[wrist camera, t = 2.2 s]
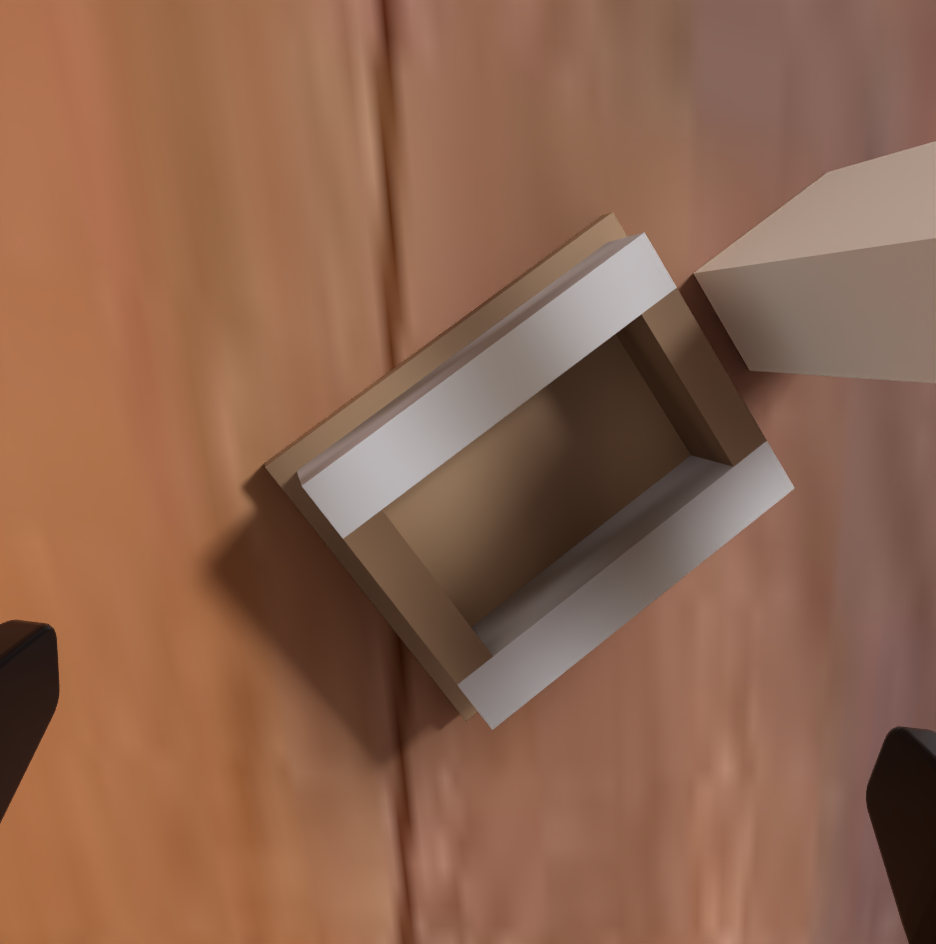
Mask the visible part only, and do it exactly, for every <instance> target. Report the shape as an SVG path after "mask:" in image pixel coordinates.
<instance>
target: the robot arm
mask: <svg viewBox="0 0 936 944" xmlns="http://www.w3.org/2000/svg"><path fill="white" fill-rule="evenodd" d="M58 699H59V670H58V652H57V637H56V633H55V630H54V628H52V627H51V626H50V625H49V624H46V623H38V622H30V621H22V620H10V621H7V622H5V623H2V624H0V823H1V821H2V819H3V817H4V815H5V813H6V811H7V809H8V807H9V804H10V802H11V800H12V798H13V796H14V794H15V792H16V790H17V788H18V786H19V784H20V782H21V780H22V778H23V776H24V774H25V772H26V770H27V768H28V766H29V764H30V762H31V760H32V758H33V755H34V753H35V751H36V749H37V747H38V745H39V743H40V741H41V739H42V737H43V735H44V733H45V731H46V729H47V727H48V725H49V723H50V721H51V719H52V717H53V715H54V712H55V710H56V707H57V703H58ZM866 803H867V809H868V813H869V816H870V819H871V823H872V826H873V829H874V833H875V836H876V839H877V842H878V846H879V849H880V852H881V856H882V859H883V862H884V866H885V869H886V872H887V875H888V879H889V882H890V885H891V889H892V892H893V895H894V898H895V902H896V905H897V908H898V912H899V915H900V918H901V922H902V925H903V927H904V930H905V933H906V936H907V939H908V942H909V944H936V732H934V731H931V730H926V729H918V728H909V727H900V726H899V727H895V728H893V729H891V730H890V731H889V732H888V734H887V735H886V737H885V740H884V742H883V745H882V748H881V750H880V753H879V755H878V758H877V761H876V763H875V766H874V769H873V771H872V774H871V777H870V779H869V782H868V785H867V791H866Z"/></svg>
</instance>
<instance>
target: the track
mask: <svg viewBox="0 0 936 944" xmlns="http://www.w3.org/2000/svg"><path fill="white" fill-rule="evenodd" d="M264 464H265V468H266V469H267V470H268V472H269V473H270V474H271V475H272V477H273V478H274V479H275V481H276V482H277V483H278V484H279V486H280V487H281V488H282V489H283V491H284V492H285V493H286V494H287V496H288V497H289V498H290V500H291V501H292V502H293V503H294V505H295V506H296V507H297V508H298V510H299V511H300V512H301V513H302V515H303V516H304V517H305V518H306V520H307V521H308V522H309V524H310V525H311V526H312V527H313V529H314V530H315V531H316V532H317V534H318V535H319V536H320V537H321V539H322V540H323V541H324V542H325V544H326V545H327V546H328V548H329V549H330V550H331V551H332V553H333V554H334V555H335V556H336V558H337V559H338V560H339V561H340V563H341V564H342V565H343V567H344V568H345V569H346V570H347V572H348V573H349V574H350V575H351V577H352V578H353V579H354V580H355V582H356V583H357V584H358V585H359V587H360V588H361V589H362V591H363V592H364V593H365V594H366V596H367V597H368V598H369V599H370V601H371V602H372V603H373V604H374V606H375V607H376V608H377V609H378V611H379V612H380V613H381V615H382V616H383V617H384V618H385V620H386V621H387V622H388V623H389V625H390V626H391V627H392V628H393V630H394V631H395V632H396V634H397V635H398V636H399V637H400V639H401V640H402V641H403V642H404V644H405V645H406V646H407V647H408V649H409V650H410V651H411V652H412V654H413V655H414V656H415V658H416V659H417V660H418V661H419V663H420V664H421V665H422V666H423V668H424V669H425V670H426V671H427V673H428V674H429V675H430V676H431V678H432V679H433V680H434V682H435V683H436V684H437V685H438V687H439V688H440V689H441V690H442V692H443V693H444V694H445V695H446V697H447V698H448V699H449V701H450V702H451V703H452V704H453V706H454V707H455V708H456V709H457V711H458V712H459V713H460V714H461V716H462V717H463V718H464V719H465V721H467V720H468V719H469V718H471V717H472V716H473V715H474V714H476V713H477V712H479V713H480V715H481V716H482V717H483V719H484V720H485V721H486V722H487V724H488V725H489V726H490V727H491V729H492V730H493V729H494V728H495V727H497V726H498V725H499V724H500V723H502V722H503V721H504V720H505V719H507V718H508V717H509V716H510V715H512V714H513V713H514V712H515V711H517V710H518V709H519V708H520V707H522V706H523V705H524V704H525V703H527V702H528V701H529V700H530V699H532V698H533V697H534V696H535V695H537V694H538V693H539V692H540V691H542V690H543V689H544V688H545V687H547V686H548V685H549V684H550V683H552V682H553V681H554V680H555V679H557V678H558V677H559V676H560V675H562V674H563V673H564V672H565V671H567V670H568V669H569V668H570V667H572V666H573V665H574V664H575V663H577V662H578V661H579V660H580V659H582V658H583V657H584V656H585V655H587V654H588V653H589V652H590V651H592V650H593V649H594V648H595V647H597V646H598V645H599V644H600V643H602V642H603V641H604V640H605V639H607V638H608V637H609V636H610V635H612V634H613V633H614V632H615V631H617V630H618V629H619V628H620V627H622V626H623V625H624V624H625V623H627V622H628V621H629V620H630V619H632V618H633V617H634V616H635V615H637V614H638V613H639V612H640V611H642V610H643V609H644V608H645V607H647V606H648V605H649V604H650V603H652V602H653V601H654V600H655V599H657V598H658V597H659V596H660V595H662V594H663V593H664V592H665V591H667V590H668V589H669V588H670V587H672V586H673V585H674V584H675V583H677V582H678V581H679V580H680V579H682V578H683V577H684V576H685V575H687V574H688V573H689V572H690V571H692V570H693V569H694V568H695V567H697V566H698V565H699V564H700V563H702V562H703V561H704V560H705V559H707V558H708V557H709V556H710V555H712V554H713V553H714V552H715V551H717V550H718V549H719V548H720V547H722V546H723V545H724V544H725V543H727V542H728V541H729V540H730V539H732V538H733V537H734V536H735V535H737V534H738V533H739V532H740V531H742V530H743V529H744V528H745V527H747V526H748V525H749V524H750V523H752V522H753V521H754V520H755V519H757V518H758V517H759V516H760V515H762V514H763V513H764V512H765V511H767V510H768V509H769V508H770V507H772V506H773V505H774V504H775V503H777V502H778V501H779V500H780V499H782V498H783V497H784V496H785V495H787V494H788V493H789V492H790V491H792V490H793V489H794V486H793V485H792V483H791V481H790V479H789V478H788V476H787V474H786V473H785V471H784V469H783V468H782V466H781V464H780V462H779V461H778V459H777V457H776V456H775V454H774V452H773V451H772V449H771V447H770V445H769V444H768V442H767V440H766V439H765V437H764V435H763V434H762V432H761V430H760V428H759V427H758V425H757V423H756V422H755V420H754V418H753V416H752V415H751V413H750V411H749V410H748V408H747V406H746V405H745V403H744V401H743V399H742V398H741V396H740V394H739V393H738V391H737V389H736V388H735V386H734V384H733V382H732V381H731V379H730V377H729V376H728V374H727V372H726V371H725V369H724V367H723V365H722V364H721V362H720V360H719V359H718V357H717V355H716V354H715V352H714V350H713V348H712V347H711V345H710V343H709V342H708V340H707V338H706V336H705V335H704V333H703V331H702V330H701V328H700V326H699V325H698V323H697V321H696V319H695V318H694V316H693V314H692V313H691V311H690V309H689V308H688V306H687V304H686V302H685V301H684V299H683V297H682V296H681V294H680V292H679V291H678V289H677V287H676V285H675V284H674V282H673V280H672V279H671V277H670V275H669V273H668V272H667V270H666V268H665V267H664V265H663V263H662V262H661V260H660V258H659V256H658V255H657V253H656V251H655V250H654V248H653V246H652V245H651V243H650V241H649V239H648V238H647V236H646V234H645V233H640V234H636V235H633V236H629V237H627V235H626V234H625V232H624V230H623V229H622V227H621V225H620V224H619V222H618V220H617V218H616V217H615V215H614V213H613V212H611V213H608V214H606V215H603V216H601V217H600V218H599V219H597V220H596V221H594V222H593V223H592V224H590V225H589V226H588V227H586V228H585V229H584V230H582V231H581V232H579V233H578V234H577V235H575V236H574V237H573V238H571V239H570V240H569V241H567V242H566V243H564V244H563V245H562V246H560V247H559V248H558V249H556V250H555V251H554V252H552V253H551V254H549V255H548V256H547V257H545V258H544V259H543V260H541V261H540V262H539V263H537V264H536V265H534V266H533V267H532V268H530V269H529V270H528V271H526V272H525V273H523V274H522V275H521V276H519V277H518V278H517V279H515V280H514V281H513V282H511V283H510V284H508V285H507V286H506V287H504V288H503V289H502V290H500V291H499V292H498V293H496V294H495V295H493V296H492V297H491V298H489V299H488V300H487V301H485V302H484V303H483V304H481V305H480V306H478V307H477V308H476V309H474V310H473V311H472V312H470V313H469V314H468V315H466V316H465V317H463V318H462V319H461V320H459V321H458V322H457V323H455V324H454V325H452V326H451V327H450V328H448V329H447V330H446V331H444V332H443V333H442V334H440V335H439V336H437V337H436V338H435V339H433V340H432V341H431V342H429V343H428V344H427V345H425V346H424V347H422V348H421V349H420V350H418V351H417V352H416V353H414V354H413V355H412V356H410V357H409V358H407V359H406V360H405V361H403V362H402V363H401V364H399V365H398V366H397V367H395V368H394V369H392V370H391V371H390V372H388V373H387V374H386V375H384V376H383V377H382V378H380V379H379V380H377V381H376V382H375V383H373V384H372V385H371V386H369V387H368V388H366V389H365V390H364V391H362V392H361V393H360V394H358V395H357V396H356V397H354V398H353V399H351V400H350V401H349V402H347V403H346V404H345V405H343V406H342V407H341V408H339V409H338V410H336V411H335V412H334V413H332V414H331V415H330V416H328V417H327V418H326V419H324V420H323V421H321V422H320V423H319V424H317V425H316V426H315V427H313V428H312V429H311V430H309V431H308V432H306V433H305V434H304V435H302V436H301V437H300V438H298V439H297V440H295V441H294V442H293V443H291V444H290V445H289V446H287V447H286V448H285V449H283V450H282V451H280V452H279V453H278V454H276V455H275V456H274V457H272V458H271V459H270V460H268V461H267V462H265V463H264Z"/></svg>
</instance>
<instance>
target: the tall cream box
mask: <svg viewBox="0 0 936 944" xmlns="http://www.w3.org/2000/svg"><path fill="white" fill-rule="evenodd" d="M693 274H694V276H695V277H696V279H697V281H698V282H699V284H700V286H701V288H702V289H703V291H704V293H705V295H706V296H707V298H708V300H709V301H710V303H711V305H712V307H713V308H714V310H715V312H716V314H717V315H718V317H719V319H720V321H721V322H722V324H723V326H724V327H725V329H726V331H727V333H728V334H729V336H730V338H731V340H732V341H733V343H734V345H735V346H736V348H737V350H738V352H739V353H740V355H741V357H742V359H743V360H744V362H745V364H746V365H747V367H748V369H749V371H761V372H776V373H791V374H806V375H820V376H835V377H850V378H865V379H880V380H894V381H909V382H924V383H936V141H935V142H931V143H928V144H924V145H921V146H917V147H914V148H911V149H907V150H904V151H900V152H897V153H893V154H890V155H886V156H883V157H879V158H876V159H872V160H869V161H865V162H862V163H858V164H855V165H851V166H848V167H844V168H841V169H837V170H834V171H831V172H827V173H826V174H825V175H823V176H822V177H821V178H819V179H818V180H817V181H815V182H814V183H813V184H811V185H810V186H809V187H807V188H806V189H805V190H803V191H802V192H801V193H799V194H798V195H797V196H795V197H794V198H793V199H791V200H790V201H789V202H787V203H786V204H785V205H783V206H782V207H781V208H779V209H778V210H777V211H775V212H774V213H773V214H771V215H770V216H769V217H767V218H766V219H765V220H763V221H762V222H761V223H759V224H758V225H757V226H755V227H754V228H753V229H751V230H750V231H749V232H747V233H746V234H745V235H743V236H742V237H741V238H739V239H738V240H737V241H735V242H734V243H733V244H731V245H730V246H729V247H727V248H726V249H725V250H723V251H722V252H721V253H719V254H718V255H717V256H715V257H714V258H713V259H711V260H710V261H709V262H708V263H706V264H705V265H704V266H702V267H701V268H700V269H698V270H697V271H696V272H694V273H693Z"/></svg>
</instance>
